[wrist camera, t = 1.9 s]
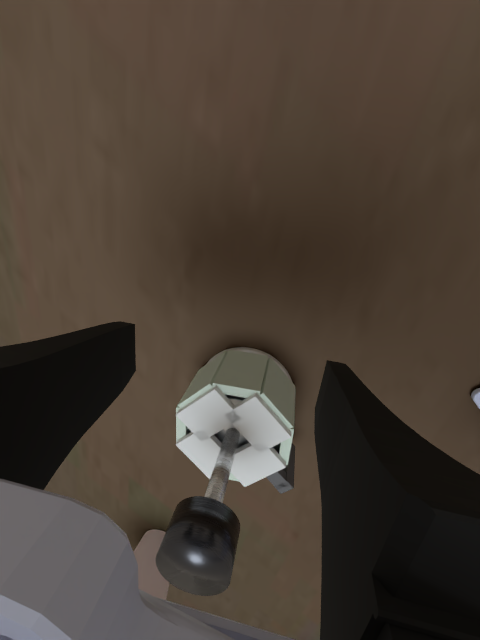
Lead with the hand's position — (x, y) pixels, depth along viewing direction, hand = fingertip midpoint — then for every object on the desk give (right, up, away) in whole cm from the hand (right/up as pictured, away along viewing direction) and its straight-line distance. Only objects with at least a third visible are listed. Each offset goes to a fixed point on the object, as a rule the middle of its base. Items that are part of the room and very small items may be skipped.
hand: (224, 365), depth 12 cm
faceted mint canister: (+1, -3, +12) cm, 12 cm away
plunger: (0, -5, +8) cm, 9 cm away
